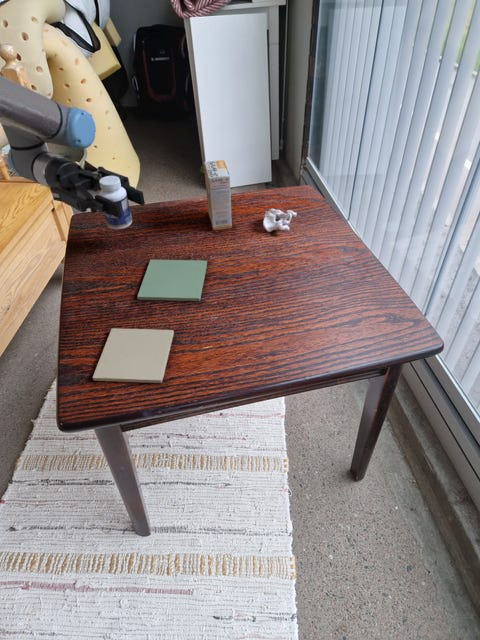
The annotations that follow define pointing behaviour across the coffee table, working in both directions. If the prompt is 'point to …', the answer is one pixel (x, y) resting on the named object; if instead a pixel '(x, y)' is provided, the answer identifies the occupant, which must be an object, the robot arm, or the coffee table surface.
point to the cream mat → (134, 356)
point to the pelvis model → (270, 221)
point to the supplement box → (218, 194)
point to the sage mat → (173, 280)
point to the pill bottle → (117, 195)
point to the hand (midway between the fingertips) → (130, 204)
